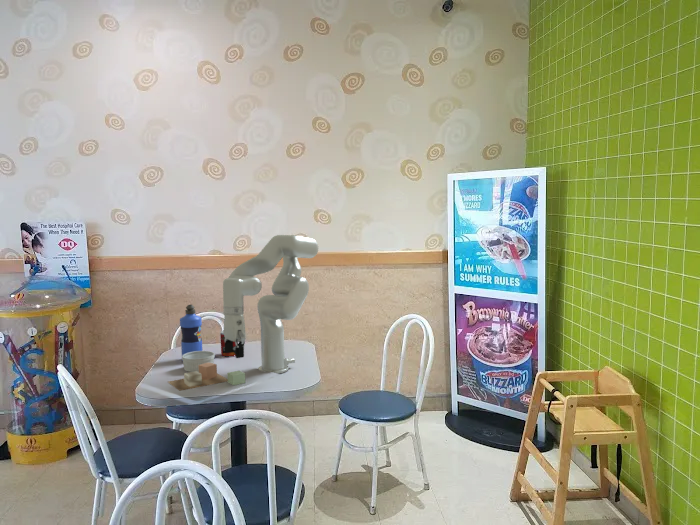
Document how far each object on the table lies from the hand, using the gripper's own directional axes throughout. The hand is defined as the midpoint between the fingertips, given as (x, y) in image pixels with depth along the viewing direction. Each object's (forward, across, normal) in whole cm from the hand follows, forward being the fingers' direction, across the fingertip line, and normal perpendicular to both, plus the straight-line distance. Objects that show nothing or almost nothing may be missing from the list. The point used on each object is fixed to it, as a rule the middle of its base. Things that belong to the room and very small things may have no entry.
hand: (234, 355), depth 228 cm
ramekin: (+12, +29, +3) cm, 32 cm away
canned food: (+11, +45, -18) cm, 50 cm away
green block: (+12, 0, -1) cm, 12 cm away
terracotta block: (+11, +14, +5) cm, 18 cm away
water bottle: (+12, +47, -1) cm, 48 cm away
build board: (+12, +11, +10) cm, 19 cm away
